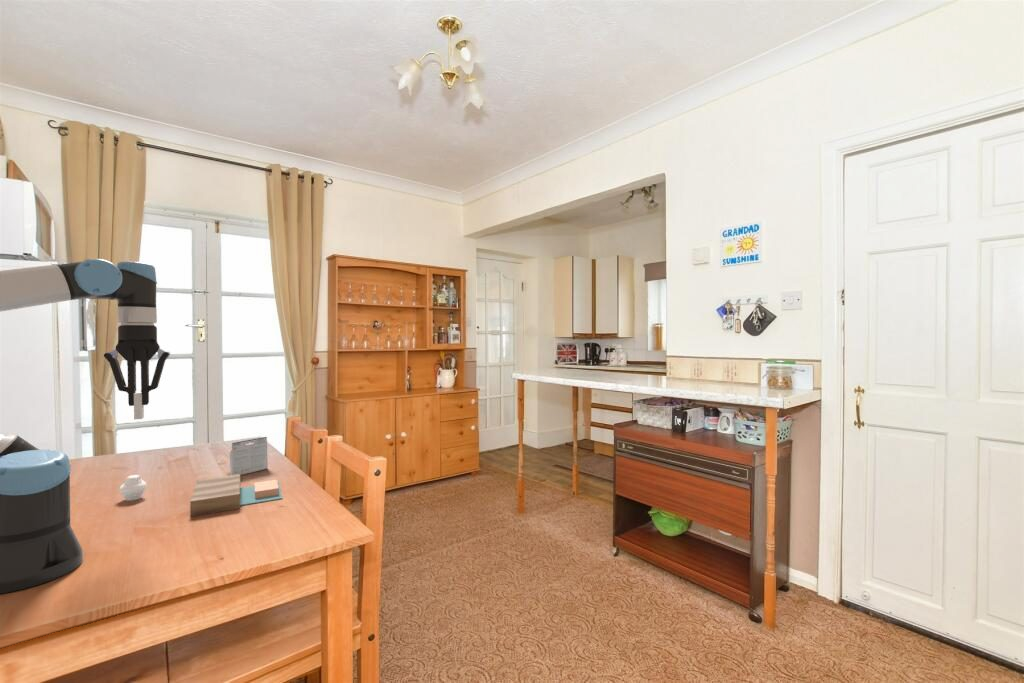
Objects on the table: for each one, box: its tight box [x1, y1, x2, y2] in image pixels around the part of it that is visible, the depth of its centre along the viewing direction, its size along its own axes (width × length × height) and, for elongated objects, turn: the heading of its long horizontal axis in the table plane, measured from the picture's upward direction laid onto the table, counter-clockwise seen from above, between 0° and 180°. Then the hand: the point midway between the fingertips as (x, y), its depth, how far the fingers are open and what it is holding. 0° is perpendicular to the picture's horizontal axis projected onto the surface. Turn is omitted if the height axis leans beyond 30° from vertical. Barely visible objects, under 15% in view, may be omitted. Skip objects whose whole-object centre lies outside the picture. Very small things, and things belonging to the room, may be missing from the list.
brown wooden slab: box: [189, 474, 241, 518], centre depth 129 cm, size 20×11×4 cm, turn 31°
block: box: [253, 479, 278, 499], centre depth 135 cm, size 9×6×2 cm, turn 31°
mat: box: [240, 481, 283, 507], centre depth 134 cm, size 16×11×1 cm
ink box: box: [229, 436, 269, 476], centre depth 155 cm, size 12×2×12 cm, turn 141°
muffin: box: [118, 474, 148, 502], centre depth 130 cm, size 6×6×7 cm
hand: (139, 418), depth 114 cm, fingers closed
